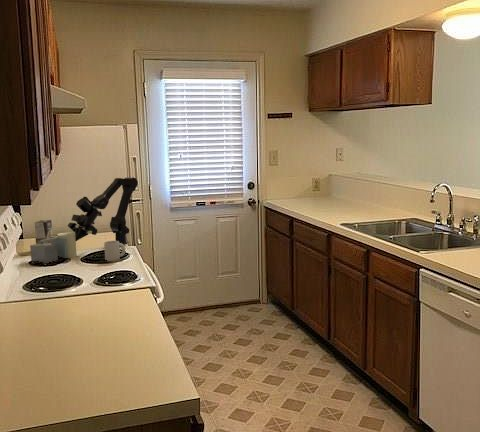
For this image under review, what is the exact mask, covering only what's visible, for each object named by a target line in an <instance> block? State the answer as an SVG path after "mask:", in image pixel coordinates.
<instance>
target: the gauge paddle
mask: <svg viewBox="0 0 480 432" xmlns="http://www.w3.org/2000/svg"><path fill="white" fill-rule="evenodd" d="M45 241H50V243H51V244H53V245H57V254H58V256H59V257H58V258H61V257H62V259H68V258H69V257H67V243H66V238H61V237H57V236H53V235H52V236H50V239H46V240H40V242H41V244H43V242H45Z"/></svg>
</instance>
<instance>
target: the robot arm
mask: <svg viewBox="0 0 480 432" xmlns="http://www.w3.org/2000/svg"><path fill="white" fill-rule="evenodd" d="M138 183H139V182H138V179H137V178H136V177H130V176H129V177H127V176H126V177H125V178H122V177H116V178H114V179H113V181H112V182H111V183H110V185H108V187H107V188H106V189H105V190H104V191H103V192H102V193H101V194H99V195H98V196H96V197H95V198H93V200H92V201H91V200H90V199H89V198H88V197H87V196H83V197H82V198H79V200H77V202H76V204H75V205H76V206H77V207H78V208H79V210H80V211H82V212H83V213H85V214H82V213H81V214H80V215H79V214H73V215H72V216H71V221H73V222H68V224H67V228H69V229H70V230H71V231H72V232H73V233H75V238H76V242H77V241H79V240H81V239H83V238H85V237H87V236H89V232H91V235H94V236H96V235H97V234H98V229H97V228H96V227H95V226H94V225H95V221H96V219H97V217H102V216H103V213H102V211H101V210H105V209H106V208H107V206H108V205H109V204H110V199H111V198H112V197H113V195H115V193H116V192H117V191H118V190H119V189H120V188H121V189H122V193H121V198H120V201H119V204H118V208H117V212H116V214H115V216H111V219H110V222H109V228H110V229H111V232H112V233H113V234H114V235H115V241H119V243H121V244H123V245H124V246H125V245H126V244H127V245H128V244H129V243H130V241H128V238H127V235H128V234H129V233H130V229H129V228H128V226H127V220H126V215H127V211H128V208H129V204H130V201H131V197H132V194H133V193H134V191H135V190H136V189H137V187H138V185H139V184H138Z"/></svg>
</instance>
